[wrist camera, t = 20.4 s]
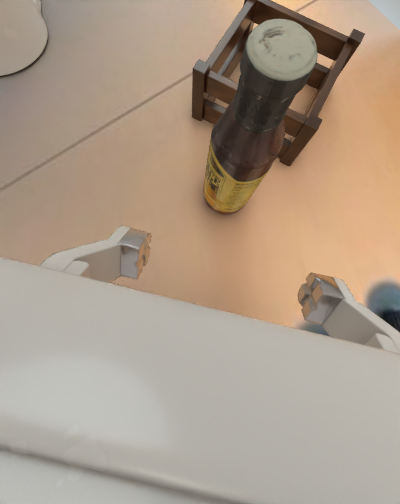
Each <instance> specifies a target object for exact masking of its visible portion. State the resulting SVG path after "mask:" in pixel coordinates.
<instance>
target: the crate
mask: <svg viewBox="0 0 400 504" xmlns="http://www.w3.org/2000/svg"><path fill="white" fill-rule="evenodd" d="M272 19H286V20H291V21H294V22H296V23H298V24H300V25H301V26H302V27H303V28H304V29H305V30H307V31H308V32H310V34H311V35H312V37H313V38H314V40H315V42H316V46H317V53H319V54H322V55H324V56H326V57H328V58H330V59H332V60H334V61H333V63H332V65H331V66H330V68H327V67H324V66H322V65H320V64H318V63H316V64H315V67H314V69H313V71H312V73H311V75H310V76H309V78H308V80H307V82H306V84H308V85H310V86H312V87H314V88H316V89H317V90H316V92H315V94H314V96H313V98H312V100H311V102H310V104H309V106H308V108H307V110H306V112H305V114H304V115H301V114H299V113H297V112H295V111H293V110H291V109H289V108H288V109H287V113H286V115H285V117H284V119H283V120H284V121H285V133H287V134H289V135H291V136H293V137H292V139H291V140H288V139H286V138H284V141H283V145H282V148H281V149H280V151H279V153H278V155H277V156H278V157H280V158H281V160H280V162H282V163H284V164H286V165H288V166H290V165H291V164H292V162H293V161H294V160H295V158H296V157H297V156H298V155H299V153H300V152H301V151H302V149H303V148H304V147H305V145H306V144H307V143H308V142H309V140H310V139H311V138H312V136H313V135H314V134H315V133H316V131H317V130H318V128H319V126H320V124H321V122H322V119H320V118H318V117H317V116H318V114H319V112H320V110H321V108H322V106H323V104H324V102H325V100H326V99H327V97H328V95H329V93H330V91H331V89H332V87H333V85H334V83H335V81H336V79H337V77H338V76H339V74H340V73H341V71H342V70H343V68H344V67H345V65H346V64H347V62H348V61H349V59H350V58H351V56H352V55H353V53H354V52H355V50H356V49H357V47H358V46H359V44H360V43H361V41H362V39H363V37H364V35H365V34H364V33H362V32H360V31H358V30H356V29H353V31H352V32H351V34H350V35H349V37H348V36H346V35H344V34H341V33H339V32H337V31H335V30H333V29H331V28H329V27H326V26H324V25H322V24H320V23H318V22H316V21H314V20H311V19H309V18H307V17H305V16H303V15H301V14H299V13H296V12H294V11H292V10H290V9H288V8H286V7H284V6H281V5H279V4H277V3H275V2H273V1H271V0H245V1H244V6H243V8H242V9H241V11H240V12H239V14H238V15H237V17H236V18H235V20H234V21H233V23H232V24H231V26H230V27H229V29H228V30H227V32H226V33H225V35H224V36H223V37H222V39H221V40H220V42H219V43H218V45H217V46H216V48H215V49H214V51H213V52H212V54H211V55H210V57H209V58H208V60H207V61H206V62H204V61H202V60H200V59H199V60H198V61H197V63H196V64H195V66H194V67H193V84H192V117H193V118H195V119H197V120H199V121H202V119H205V120H207V121H209V122H211V123H213V124H216V123H217V121H218V120H219V119H220V117H221V116H222V114H223V113H224V112H225V110H226V108H224V107H222V106H220V105H218V104H216V103H214V100H215V99H216V98H217V99H219V100H221V101H223V102H225V103H227V104H229V105H230V103H231V102H232V101H233V99H234V96H235V93H236V92H237V87H238V83H236V82H234V81H232V80H230V79H228V78H229V77H230V75H231V73H232V72H233V70H234V69H235V67H236V66H237V64H238V62H239V61H240V59H241V57H242V54H243V51H244V47H245V43H246V41H247V38H248V36H249V34H250V33H251V32H252V29H253V25H254V23H256V24H258V25H260V24H261V23H263V22H265V21H267V20H272Z"/></svg>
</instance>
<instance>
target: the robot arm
mask: <svg viewBox="0 0 400 504" xmlns="http://www.w3.org/2000/svg"><path fill="white" fill-rule="evenodd" d="M47 38H48V31H47V26H46V23H45V21H44V19H43V17H42V15H41V1H40V0H0V76H2V75H8V74H11V73H14V72H17V71H19V70H22V69H23V68H25V67H27V66H28V65H30V64H31V63H32V62H34V61H35V60H36V59H37V58H38V57H39V56H40V54H41V53H42V51H43V50H44V48H45V45H46V42H47ZM150 242H151V233H149V232H145V231H141V230H137V229H134V228H130V227H126V226H119V228H118V229H117V230H116V231H115V232H114V233H113V234H112V235H111V236H110V237H109V238H108V239H107V240H106V241H105V240H101V241H98V242H94V243H90V244H87V245H83V246H79V247H76V248H72V249H68V250H65V251H61V252H57V253H54V254H52V255H51V256H50V257H49V258H47V259H46V260H45V261H44V262H43V263H41V264H40V265H39V266H37V265H33V264H29V263H25V262H21V261H16V260H12V259H8V258H4V257H0V504H400V333H399V332H398V331H397V330H396V329H394V328H393V327H392V326H390V325H389V324H388V323H386V322H385V321H384V320H382V319H381V318H380V317H378V316H377V315H376V314H374V313H373V312H372V311H370V310H369V309H368V308H366V307H365V306H364V305H362V304H361V303H359V302H357V301H356V300H355V298H354V296H353V295H352V293H351V292H350V290H349V288H348V287H347V285H346V284H345V282H344V281H343V280H342V279H339V278H334V277H329V276H324V275H320V274H315V273H310V274H309V275H308V276H307V278H306V281H307V283H305V284H303V285H302V286H301V287H300V289H299V292H298V301H299V303H300V304H301V305H302V306H303V308H302V309H301V310H302V313H303V316H304V319H305V320H306V321H310V322H313V323H317V324H321V325H322V327H323V328H324V329H325V330H326V331H327V333H328V334H329V335H330V336H331V337H329V336H325V335H321V334H317V333H313V332H309V331H304V330H300V329H296V328H292V327H288V326H284V325H280V324H276V323H272V322H267V321H263V320H259V319H255V318H251V317H247V316H243V315H239V314H234V313H230V312H226V311H222V310H218V309H214V308H210V307H206V306H202V305H197V304H193V303H189V302H185V301H181V300H177V299H173V298H169V297H165V296H160V295H156V294H152V293H148V292H144V291H140V290H136V289H132V288H128V287H123V286H119V285H115V284H111V283H110V282H111V281H113V280H115V279H117V278H118V277H120V276H124V277H128V278H133V279H138V278H139V276H140V274H141V272H142V268H143V266H145V265H146V263H147V261H148V258H149V254H150V247H149V243H150Z"/></svg>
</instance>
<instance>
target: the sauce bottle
mask: <svg viewBox="0 0 400 504" xmlns="http://www.w3.org/2000/svg"><path fill="white" fill-rule="evenodd" d="M317 57H318V56H317V46H316V42H315V40H314V38H313V37H312V35H311V34H310V32H308V31H307V30H305V29H304V28H303V27H302V26H301V25H300V24H298V23H296V22H294V21H291V20H286V19H272V20H267V21H265V22H263V23H261V24H260V25H258V26H257V27H256V28H255V29H253V31H252V32H251V33H250V34H249V36H248V38H247V41H246V43H245V47H244V51H243V54H242V57H241V64H240V70H241V75H240V79H239V84H238V87H237V92H236V93H235V96H234V99H233V101H232V102H231V103H230V105H229V106H228V107H227V109H226V110H225V112H224V113H223V114H222V116H221V117H220V119H219V120H218V121H217V123H216V124H215V126H214V128H213V130H212V133H211V140H210V146H209V153H208V159H207V166H206V174H205V181H204V195H205V199H206V201H207V204H208V205H209V207H211V208H212V209H213V210H215V211H217V212H219V213H222V214H229V213H233V212H236V211H238V210H240V209H241V208H242V207H243V206H244V205H245V204H246V203H247V201H248V200H249V198H250V197H251V195H252V194H253V192H254V191H255V189H256V188H257V187H258V185H259V184H260V182H261V181H262V179H263V178H264V176H265V175H266V173H267V172H268V170H269V169H270V167H271V165H272V163H273V161H274V159H275V158H276V156H277V155H278V153H279V151H280V149H281V148H282V145H283V141H284V136H285V121H284V120H283V119H284V117H285V115H286V113H287V109H288V107H289V106H290V104H291V102H292V100H293V98H294V96H295V95H296V93H298V92H299V91H300V90H301V89H302V88H303V87H304V86H305V84H306V82H307V80H308V78H309V76H310V75H311V73H312V71H313V69H314V67H315V64H316V62H317Z"/></svg>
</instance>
